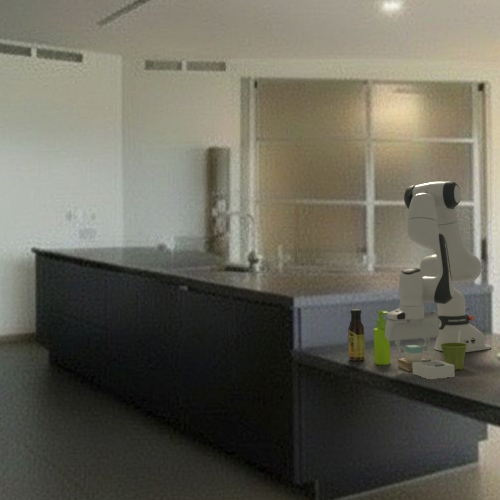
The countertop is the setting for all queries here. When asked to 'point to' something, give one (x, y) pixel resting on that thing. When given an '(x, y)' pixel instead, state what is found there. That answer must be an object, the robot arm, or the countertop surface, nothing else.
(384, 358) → the soap dispenser
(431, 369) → the port
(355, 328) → the sauce bottle
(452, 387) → the countertop surface
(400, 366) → the brown wooden square frame
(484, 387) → the countertop surface
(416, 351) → the plug
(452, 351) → the plant pot
